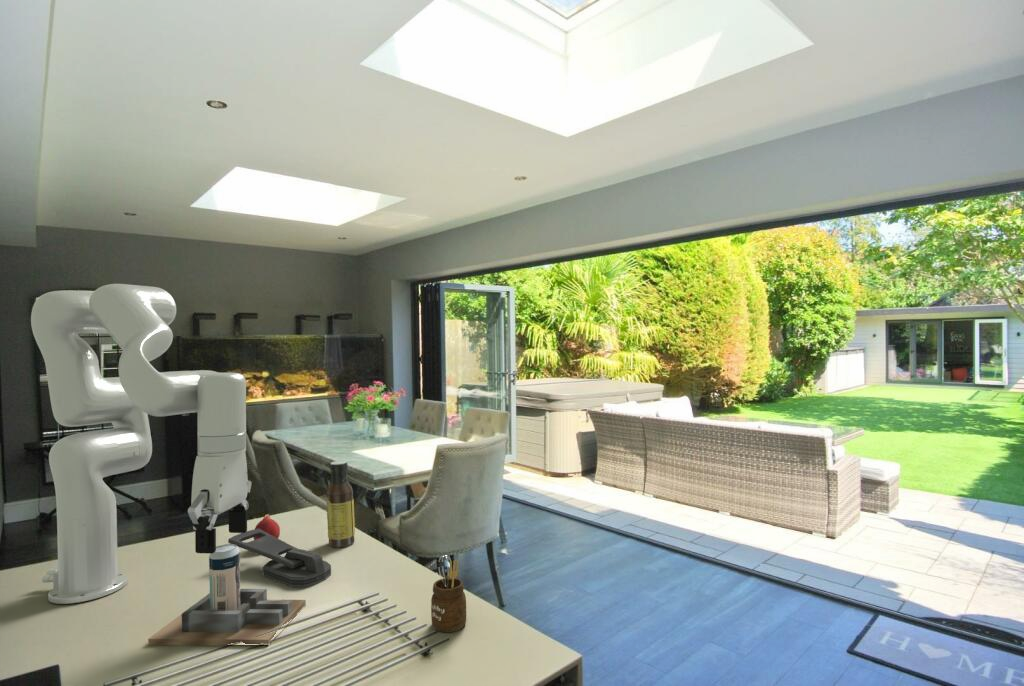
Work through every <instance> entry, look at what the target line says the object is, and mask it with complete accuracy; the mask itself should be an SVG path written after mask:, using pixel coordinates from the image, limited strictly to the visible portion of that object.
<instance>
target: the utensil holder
mask: <svg viewBox="0 0 1024 686" xmlns="http://www.w3.org/2000/svg"><path fill="white" fill-rule="evenodd" d="M444 557H445V555H442V556H441V557H439V560H438V561H440V560H441V561H444ZM445 559H446V560H445V561H446V562H449V565H446V566H447V574H448V577H445V575H441V571H440V568H438V574H439V576H440V579H438V580H436V581H434V583H433V586H432V593H433V594H432V596H431V600H430V607H431V608H430V611H431V613H430V616H431V625H432V627H433V629H435V630H436V631H437V632H439V633H453V632H457V631H459V630H462V629H463V628H464V627H465V625H466V624H467V596H466V594H465V592H464V590H465V587H464V582H463V581H462V579H460V578H458V576H459V564H460V559H455V560H453V561H452V560H451V558H450V556H447V558H445ZM448 559H449V561H448ZM441 568H442V573H445V572H444V567H441ZM442 576H443V577H442Z"/></svg>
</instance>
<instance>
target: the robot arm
mask: <svg viewBox="0 0 1024 686" xmlns="http://www.w3.org/2000/svg"><path fill="white" fill-rule="evenodd" d="M176 316H177V304H176V302H175V299H174V298H173V296H172V295H171V294H170V293H169V292H168V291H166V290H165V289H163V288H161V287H157V286H149V285H140V284H139V285H138V284H128V283H127V284H126V283H110V284H106V285H102V286H100V287H98V288H96V289H95V290H94V291H88V290H87V291H86V290H73V289H72V290H71V289H69V290H66V289H64V290H53V291H48V292H46V293H43V294H42V295H40V296H39V297H38V298H37V299H36V300H35V301H34V304H33V305H32V308H31V315H30V324H31V325H30V326H31V331H32V335H33V337H34V339H35V342H36V344H37V346H38V348H39V350H40V353H41V355H42V358H43V361H44V363H45V364H44V365H45V370H46V371H45V372H46V378H47V379H46V380H47V384H48V385H47V387H48V391H49V398H50V399H49V400H50V405H51V410H52V414H53V418H54V419H55V421H56V423H58V424H59V425H60V426H63V427H72V428H73V427H83V426H84V427H85V426H92V425H100V424H101V425H102V424H107V423H108V424H109V423H111V424H112V427H113V428H108V429H98V430H93V431H92V430H91V431H83V432H78V433H74V434H70V435H66V436H64V437H62V438H61V439H59V440H57V441H55V443H54V444H53V445H52V446H51V448H50V451H49V454H48V462H49V468H50V472H51V475H52V479H53V484H54V490H55V503H56V524H57V525H56V529H57V531H56V532H57V535H56V537H57V540H56V541H57V568H49V569H48V570H47V572H46V574H45V575H44V576H42V578H41V581H42V583H52V586H53V587H52V589H51V590H49V592H48V594H47V597H48V598H47V599H48V601H49V602H50V603H53V604H57V605H67V604H68V605H69V604H77V603H83V602H89V601H93V600H96V599H99V598H103V597H105V596H108V595H111V594H112V593H115V592H117V591H119V590H120V589H122V588H124V586H126V585H127V583H128V575H126V574H125V573H124V572H123V573H122V572H119V570H118V569H119V567H118V566H119V565H118V561H119V560H118V559H119V558H118V526H117V525H118V524H117V523H118V519H117V517H118V515H117V511H118V510H117V499H116V498H117V497H116V495H115V493H114V491H113V490H112V489H111V488H110V486H108V485H107V484H106V483H105V481H104V480H103V479H104V478H107V477H110V476H113V475H119V474H124V473H128V472H132V471H137V470H140V469H141V468H144V467H145V466H147V464H148V463H149V462H150V459H151V457H152V455H153V454H152V453H153V442H152V441H153V440H152V436H151V435H152V433H151V428H150V420H149V416H153V417H168V416H176V415H183V414H191V413H193V414H194V413H197V455H196V457H195V460H194V466H193V474H192V481H191V482H192V484H191V500H190V501H191V503H190V504H191V505H190V506H189V507H188V509H187V515H188V517H189V519H190V524H191V525H192V529H193V530H194V531H195V532H194V534H195V536H194V537H195V539H194V542H195V543H194V545H195V547H194V549H195V553H196V554H209V555H210V554H212V553H214V552H215V551H216V547H217V528H215V527H214V526H215V523H216V520H217V518H218V515H221V514H224V513H225V512H227V511H228V532H229V533H230V534H240V533H245V532H247V531H248V509H249V500H250V498H251V488H252V483H253V482H252V481H251V480H249V479H248V475H249V474H248V463H247V455H246V451H247V380H246V377H245V376H244V375H243V374H242V373H239V372H217V371H214V370H209V369H208V370H205V369H200V370H198V369H197V370H178V371H177V370H176V371H162V372H160V371H158V370H157V369H156V368H155V367H154V366H153V365H152V364H151V363H150V362H151V361H153V360H156V359H157V358H159V357H161V356H162V355H163V354H164V353H166V351H168V350H169V348H170V347H171V345H172V343H173V338H174V334H173V331H172V329H171V328H170V326H169V325H171V324H172V322H173V321H174V320H175V318H176ZM79 334H108V335H109V336H110V337H111V338H112V339H113V341H114V342H115V343H116V345H118V347H119V348H120V349H121V350H122V352H121V355H120V357H119V361H118V376H114V377H113V376H111V377H103V376H102V373H101V369H100V365H99V364H100V363H99V362H100V361H99V359H98V355H97V354H96V352H95V350H94V349H93V348H92V347H91V346H90V344H89V343H88V342H87V341H85V340H84V339H83V338H82V337H80V335H79ZM206 517H209V518H208V519H206Z"/></svg>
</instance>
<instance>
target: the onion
mask: <svg viewBox="0 0 1024 686" xmlns="http://www.w3.org/2000/svg"><path fill="white" fill-rule="evenodd" d="M254 529H261V530H263V531H264V532H266V533H268V534H270V535H272V536H274V537H276V538H278V539H280V538H279V537H280V533H281V529H280V525H279V524H278V522H276V520H274V519H272V518H271V516H270V514H265V515H264V517H263V518H262V520H260V521H259V522H257V524H256V525H255V528H254ZM259 538H262V537H261V536H257V537H253V540H256V539H259Z"/></svg>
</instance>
